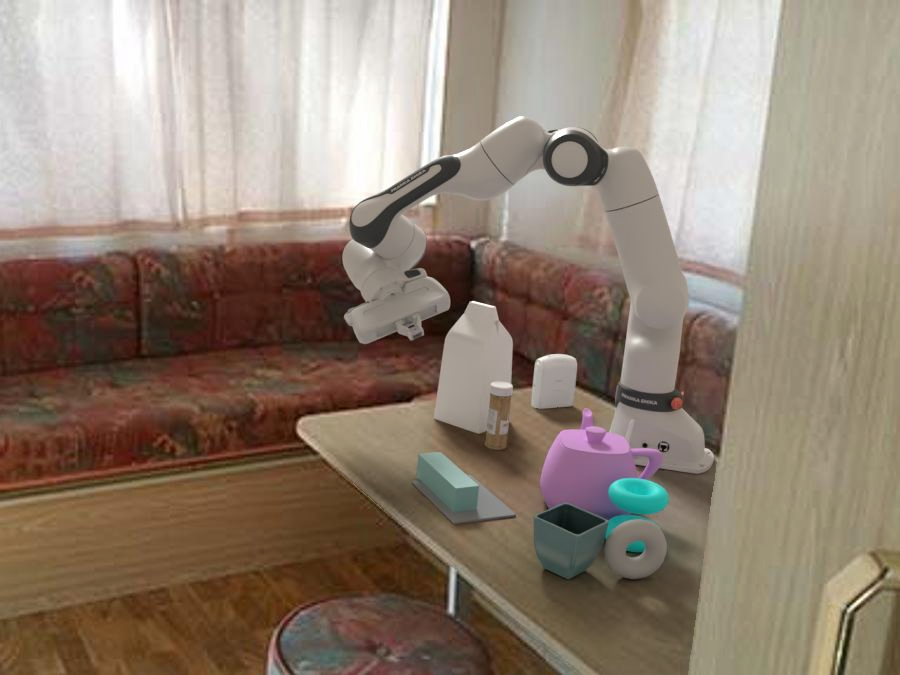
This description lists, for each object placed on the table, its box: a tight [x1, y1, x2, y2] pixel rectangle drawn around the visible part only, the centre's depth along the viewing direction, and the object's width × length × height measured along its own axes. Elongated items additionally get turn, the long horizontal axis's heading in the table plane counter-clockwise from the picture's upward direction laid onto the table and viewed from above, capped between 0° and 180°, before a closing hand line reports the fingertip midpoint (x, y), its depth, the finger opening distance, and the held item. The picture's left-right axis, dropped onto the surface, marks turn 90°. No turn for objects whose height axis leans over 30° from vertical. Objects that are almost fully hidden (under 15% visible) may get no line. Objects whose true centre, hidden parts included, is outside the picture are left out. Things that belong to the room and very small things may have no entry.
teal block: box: [416, 451, 479, 512], centre depth 192 cm, size 4×4×16 cm
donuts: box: [604, 478, 670, 553], centre depth 179 cm, size 10×10×10 cm
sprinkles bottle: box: [484, 381, 514, 451], centre depth 216 cm, size 5×5×13 cm
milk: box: [433, 300, 514, 435], centre depth 228 cm, size 12×12×26 cm
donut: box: [603, 519, 668, 580], centre depth 166 cm, size 10×4×10 cm, turn 98°
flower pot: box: [533, 503, 609, 580], centre depth 167 cm, size 9×9×9 cm
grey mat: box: [411, 474, 517, 525], centre depth 191 cm, size 18×12×1 cm, turn 25°
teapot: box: [539, 407, 663, 520], centre depth 193 cm, size 23×21×15 cm
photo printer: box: [530, 353, 578, 410], centre depth 244 cm, size 10×4×12 cm, turn 114°
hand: (417, 335), depth 207 cm, fingers closed
